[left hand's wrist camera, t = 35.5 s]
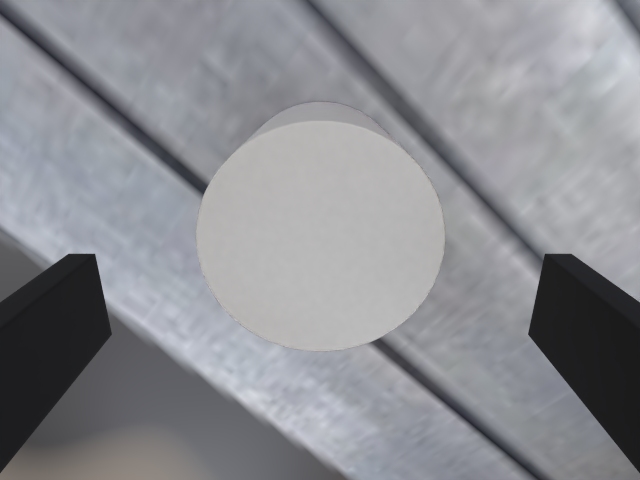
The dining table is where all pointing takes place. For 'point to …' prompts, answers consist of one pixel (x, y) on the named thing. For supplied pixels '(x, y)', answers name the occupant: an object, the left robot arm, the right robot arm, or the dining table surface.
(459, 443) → the dining table surface
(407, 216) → the can
